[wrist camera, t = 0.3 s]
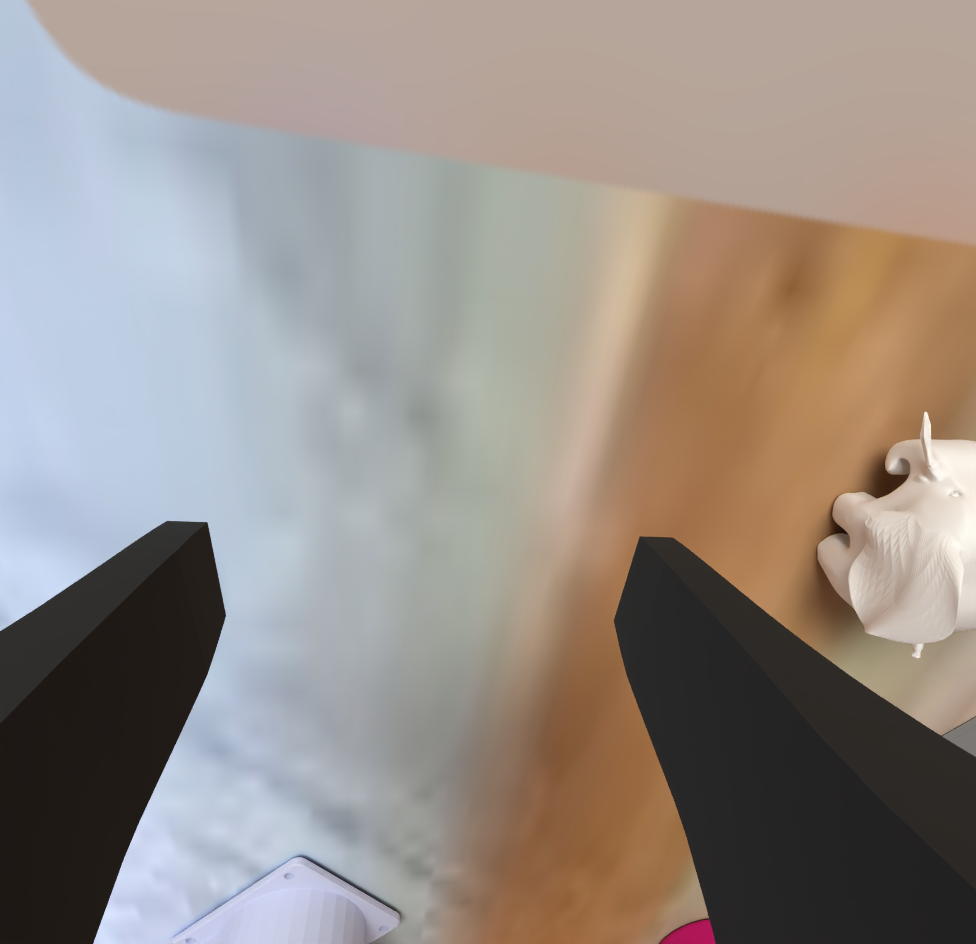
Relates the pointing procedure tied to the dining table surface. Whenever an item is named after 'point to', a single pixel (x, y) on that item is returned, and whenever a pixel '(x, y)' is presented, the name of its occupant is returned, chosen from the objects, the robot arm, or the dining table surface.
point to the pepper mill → (692, 934)
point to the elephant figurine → (911, 545)
